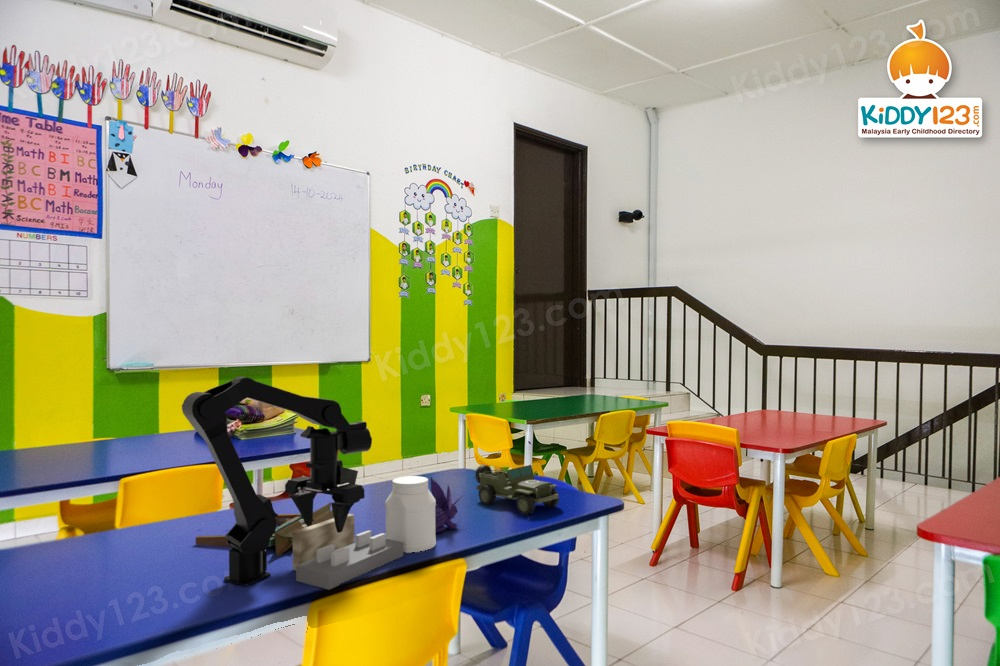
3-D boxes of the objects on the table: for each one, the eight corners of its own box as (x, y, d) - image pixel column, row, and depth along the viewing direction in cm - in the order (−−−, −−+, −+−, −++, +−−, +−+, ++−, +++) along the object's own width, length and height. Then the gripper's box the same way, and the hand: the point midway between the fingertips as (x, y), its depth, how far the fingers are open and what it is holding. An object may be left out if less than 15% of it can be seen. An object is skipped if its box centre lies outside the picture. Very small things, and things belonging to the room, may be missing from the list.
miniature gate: (251, 504, 176) (355, 501, 171) (252, 525, 176) (357, 522, 170) (183, 535, 150) (304, 532, 144) (185, 559, 150) (306, 558, 144)
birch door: (299, 572, 136) (299, 530, 136) (292, 570, 137) (292, 528, 137) (354, 550, 150) (354, 512, 150) (348, 548, 151) (347, 510, 151)
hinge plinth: (329, 589, 126) (328, 560, 126) (296, 580, 131) (295, 553, 131) (403, 556, 145) (403, 530, 145) (372, 549, 149) (372, 525, 149)
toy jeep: (534, 518, 174) (533, 476, 174) (469, 501, 192) (469, 463, 192) (563, 509, 183) (562, 469, 183) (499, 494, 201) (499, 458, 201)
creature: (476, 525, 168) (475, 476, 168) (419, 541, 155) (418, 488, 155) (453, 518, 174) (452, 471, 174) (396, 533, 161) (396, 482, 161)
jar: (443, 544, 153) (442, 479, 153) (414, 555, 145) (413, 487, 145) (408, 535, 160) (407, 473, 160) (378, 545, 152) (377, 480, 152)
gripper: (381, 455, 145) (382, 526, 145) (321, 447, 155) (321, 514, 155) (345, 463, 136) (345, 539, 136) (283, 455, 145) (283, 526, 145)
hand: (324, 529), depth 143 cm, fingers open, 9 cm apart
